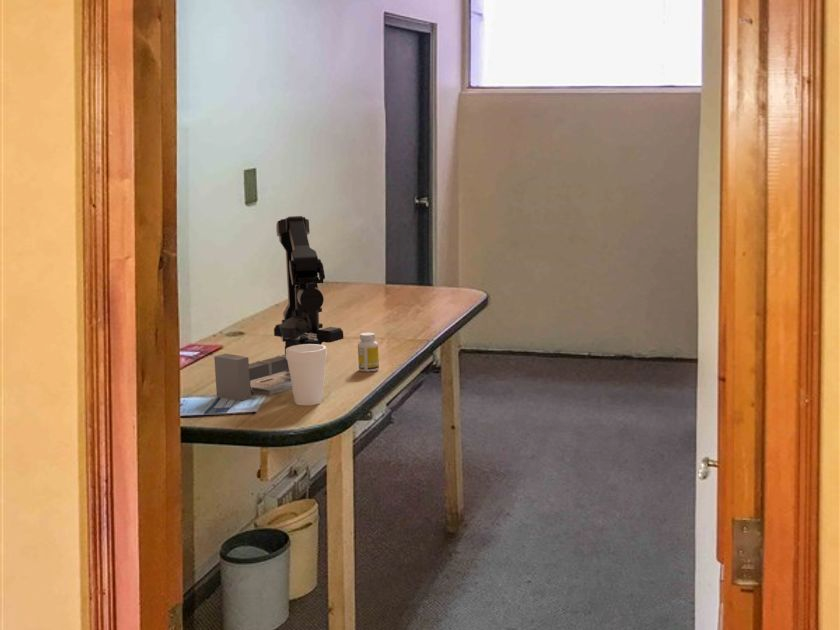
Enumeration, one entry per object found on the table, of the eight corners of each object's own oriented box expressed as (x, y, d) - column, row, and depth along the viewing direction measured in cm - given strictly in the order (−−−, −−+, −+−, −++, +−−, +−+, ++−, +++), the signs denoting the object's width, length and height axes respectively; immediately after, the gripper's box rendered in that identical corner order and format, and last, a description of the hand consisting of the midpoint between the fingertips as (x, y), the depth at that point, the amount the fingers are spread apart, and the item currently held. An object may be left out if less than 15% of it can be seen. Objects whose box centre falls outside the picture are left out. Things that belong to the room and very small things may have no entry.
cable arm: (297, 374, 274) (296, 350, 273) (309, 376, 271) (308, 351, 270) (234, 393, 256) (232, 366, 255) (246, 395, 254) (244, 368, 252)
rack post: (227, 393, 257) (225, 353, 255) (250, 397, 252) (248, 357, 250) (216, 396, 254) (214, 356, 252) (239, 400, 249) (237, 360, 248)
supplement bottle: (381, 368, 280) (380, 332, 278) (375, 372, 275) (374, 336, 273) (362, 367, 281) (361, 331, 279) (355, 371, 276) (354, 335, 274)
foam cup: (284, 400, 249) (281, 346, 247) (320, 395, 253) (318, 342, 250) (295, 409, 241) (293, 354, 238) (333, 404, 244) (331, 349, 242)
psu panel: (285, 373, 276) (284, 368, 276) (321, 379, 268) (321, 373, 268) (233, 388, 262) (233, 382, 261) (270, 395, 254) (270, 389, 254)
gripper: (257, 306, 261) (260, 367, 264) (314, 313, 250) (317, 376, 253) (287, 300, 270) (290, 359, 273) (343, 305, 259) (346, 367, 262)
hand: (309, 365), depth 265 cm, fingers closed
